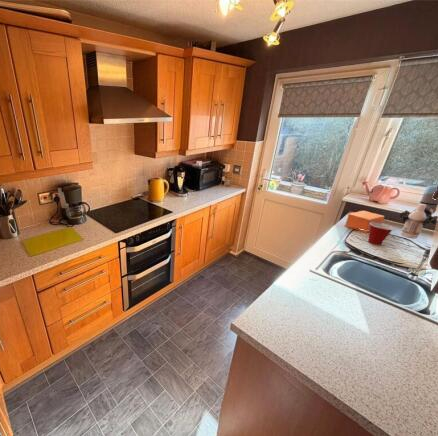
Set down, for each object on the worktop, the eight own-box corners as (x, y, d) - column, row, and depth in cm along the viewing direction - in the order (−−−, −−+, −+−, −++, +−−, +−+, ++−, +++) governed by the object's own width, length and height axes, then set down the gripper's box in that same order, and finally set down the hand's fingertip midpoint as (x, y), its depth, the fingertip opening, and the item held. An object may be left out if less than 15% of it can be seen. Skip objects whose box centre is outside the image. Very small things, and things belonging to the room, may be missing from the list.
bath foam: (411, 239, 133) (426, 206, 126) (397, 234, 139) (410, 203, 132) (420, 238, 134) (435, 205, 127) (405, 233, 141) (419, 202, 134)
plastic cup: (392, 246, 138) (399, 228, 134) (377, 247, 137) (384, 229, 132) (372, 238, 148) (379, 221, 144) (358, 239, 147) (364, 222, 142)
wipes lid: (369, 220, 153) (369, 219, 153) (348, 214, 164) (348, 213, 164) (384, 217, 159) (385, 216, 159) (363, 211, 170) (363, 210, 170)
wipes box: (365, 232, 157) (369, 220, 153) (345, 225, 168) (348, 214, 164) (380, 228, 162) (384, 217, 159) (359, 222, 173) (363, 211, 170)
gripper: (444, 223, 136) (438, 233, 124) (397, 214, 151) (387, 221, 140) (450, 211, 133) (444, 220, 121) (402, 203, 149) (392, 210, 137)
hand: (414, 221), depth 130 cm, fingers closed on bath foam, 7 cm apart
